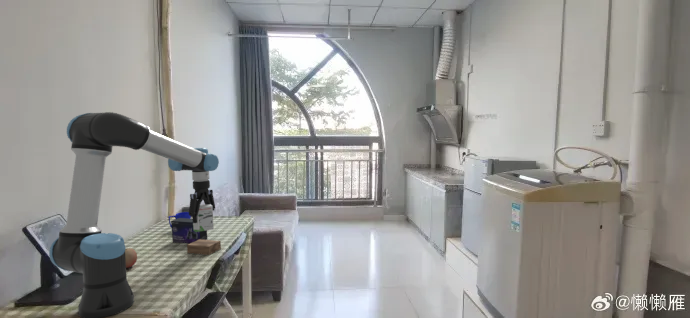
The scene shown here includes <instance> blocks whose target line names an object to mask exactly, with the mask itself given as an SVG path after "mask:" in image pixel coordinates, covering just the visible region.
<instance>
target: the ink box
mask: <svg viewBox="0 0 690 318" xmlns="http://www.w3.org/2000/svg"><path fill="white" fill-rule="evenodd" d="M197 216H199V227H200V229H199V230H194V227H193V230H194V231H195V232H200V231H206V230H207V231H212V230H214V228H215V227H214V211H213V206H212V205H211V204H205V203H204V204H200V208H199V212H198V215H197Z"/></svg>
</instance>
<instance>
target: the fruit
mask: <svg viewBox="0 0 690 318" xmlns="http://www.w3.org/2000/svg"><path fill="white" fill-rule="evenodd" d="M125 258H126V269H129V268H131V267H133V266H134V265H135V264H136V263H137V260H138V254H137V252H136V250H135V249H133V248H131V247H127V248H126V249H125Z"/></svg>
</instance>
